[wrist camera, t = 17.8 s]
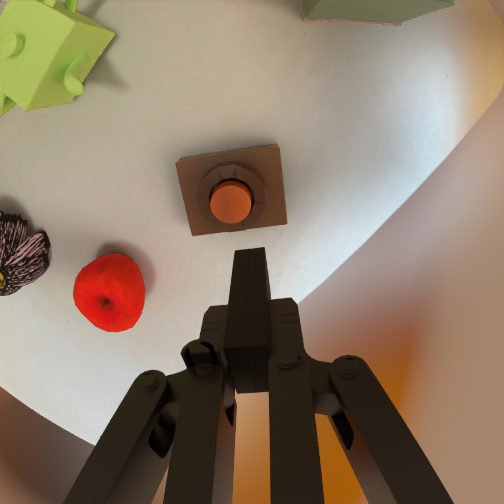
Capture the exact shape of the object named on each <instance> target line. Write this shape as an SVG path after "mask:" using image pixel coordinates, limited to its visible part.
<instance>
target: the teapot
mask: <svg viewBox="0 0 504 504" xmlns="http://www.w3.org/2000/svg"><path fill="white" fill-rule="evenodd" d="M77 3H78V0H66V3H65V5H64V4H62V3H60V2H58V0H10V1H9V3H8V4H7V6H6V8H5V9H4V11H3V13H2V15H1V16H0V116H2V115H4V114H5V113H6V112H8V111H9V110H10V109H11V108H12V107H13V106H14V105H15V104H16V103H17V104H18V105H19V106H21V107H22V108H23V109H25V110H26V111H31V110H35V109H40V108H45V107H50V106H55V105H61V104H67V103H71V102H72V101H73V99H74V97H75V95H77V96H79V95H82V94H83V92H84V87H83V84H82V83H83V82H84V80H85V78H86V77H87V75H88V73H89V72H90V70H91V69H92V67H93V66H94V64H95V63H96V61H97V60H98V58H99V57H100V55H101V54H102V52H103V51H104V49H105V48H106V46H107V45H108V44H109V42H110V41H111V39H112V38H113V37H114V35H115V34H116V33H114V32H112V31H111V30H109V29H107V28H106V27H104V26H102V25H100V24H99V23H97V22H95V21H93V20H92V19H90V18H88V17H86V16H85V15H83V14H81V13H79V12H77V11H76V8H77ZM6 95H7V97H6V98H5V96H6Z"/></svg>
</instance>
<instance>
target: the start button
mask: <svg viewBox="0 0 504 504" xmlns="http://www.w3.org/2000/svg"><path fill="white" fill-rule="evenodd" d="M210 206H211V210H212V213H213V214H214V216H215V217H216V218H217V219H219V220H220V221H222V222H225V223H237V222H240V221H242V220H243V219H245V218H246V217H247V215H248V214H249V212H250V209H251V194H250V191H249V190H248V188H247V187H246V186H245V185H244V184H242V183H241V182H238V181H234V180H229V181H225V182H222V183H221V184H219V185H218V186H217V187H216V189H215V190H214V192H213V195H212V198H211V202H210Z"/></svg>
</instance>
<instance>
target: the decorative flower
mask: <svg viewBox="0 0 504 504" xmlns="http://www.w3.org/2000/svg"><path fill="white" fill-rule="evenodd" d="M26 235H27V220H23V219H22V218H21V216H20V214H19V216H17V215H16V214H15V213H14V215H11V214H4V212H2V211H1V210H0V296H6V295H11V294H13V293H15V292H16V291H18V290H19V289H20V288H21V287H22V286H24V285H27V284H30V283H32V282H34V281H35V280H36V279H38V278H39V277H40V276H42V275H43V274H44V273H45V271H46V270H47V268H48V267H49V266H48V265H49V258H48V255H47V254H48V253H49V252H48V249H49V247H50V243H49V239H48V236H47V234H46V233H45V232H43V231H39V232H37V233H35V234H33V235H31V236H30V237H28V238H27V239H26Z"/></svg>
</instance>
